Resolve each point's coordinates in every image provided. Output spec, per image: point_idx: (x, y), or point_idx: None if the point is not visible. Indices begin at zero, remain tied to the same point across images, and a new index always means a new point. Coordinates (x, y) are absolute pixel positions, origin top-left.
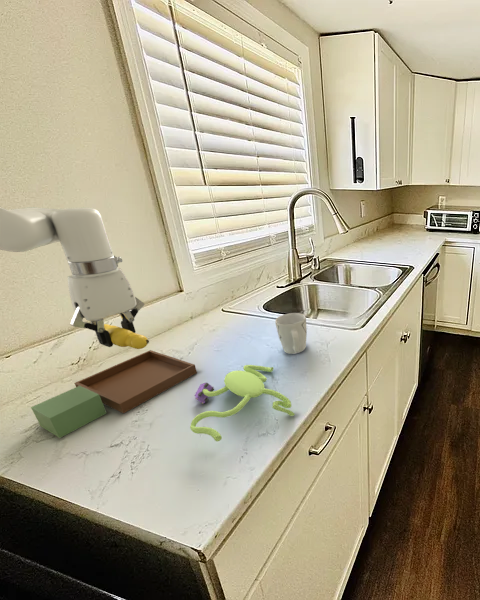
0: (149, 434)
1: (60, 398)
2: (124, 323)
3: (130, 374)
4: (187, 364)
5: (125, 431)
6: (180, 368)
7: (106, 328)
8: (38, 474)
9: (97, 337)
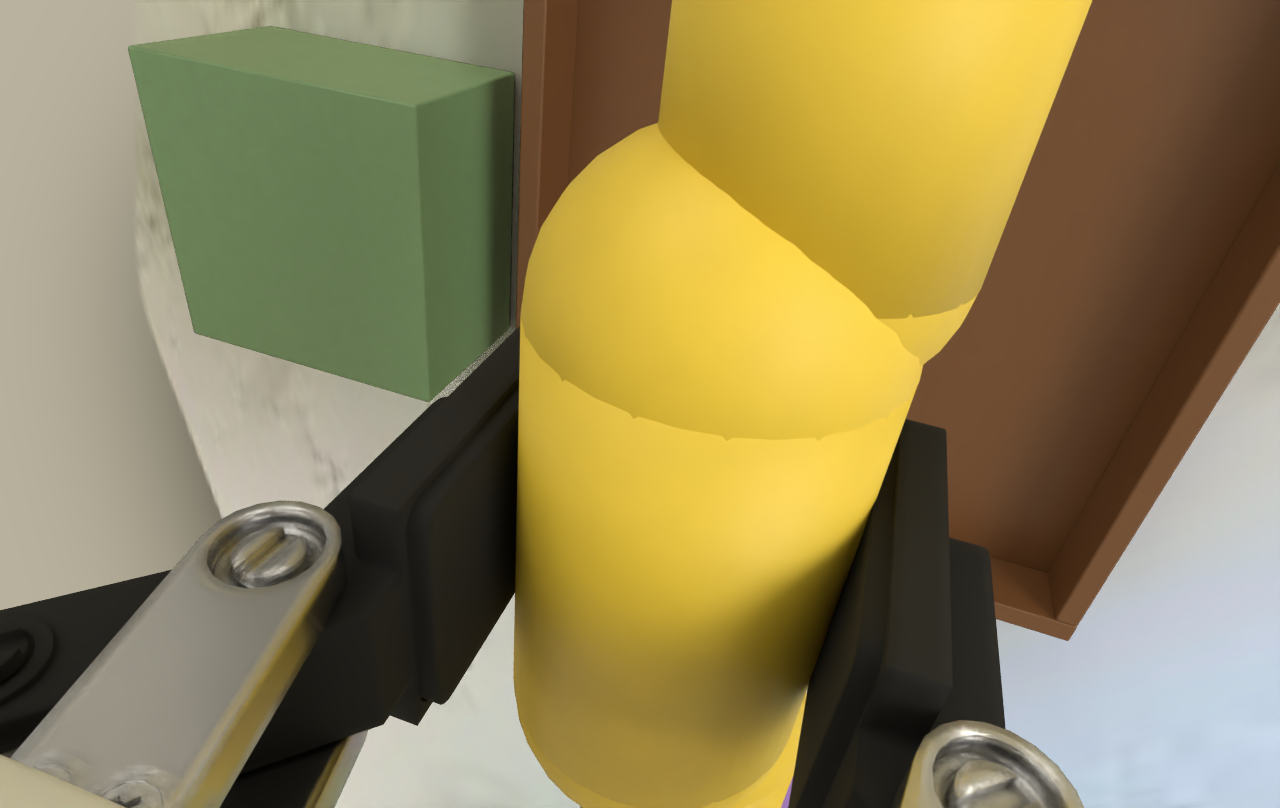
0: (504, 637)
1: (272, 159)
2: (808, 776)
3: None
4: (1076, 578)
5: None
6: (1102, 445)
7: (583, 453)
8: (211, 407)
9: (386, 449)
